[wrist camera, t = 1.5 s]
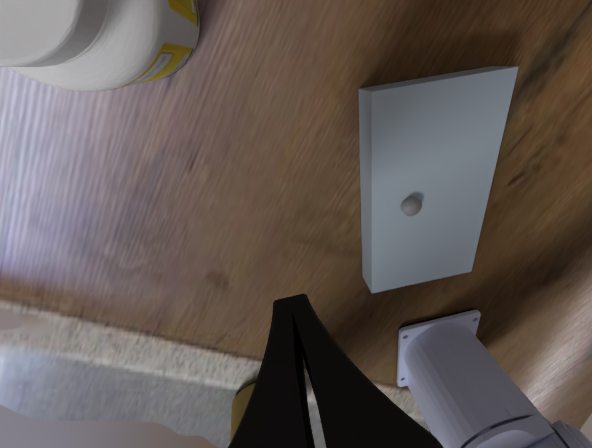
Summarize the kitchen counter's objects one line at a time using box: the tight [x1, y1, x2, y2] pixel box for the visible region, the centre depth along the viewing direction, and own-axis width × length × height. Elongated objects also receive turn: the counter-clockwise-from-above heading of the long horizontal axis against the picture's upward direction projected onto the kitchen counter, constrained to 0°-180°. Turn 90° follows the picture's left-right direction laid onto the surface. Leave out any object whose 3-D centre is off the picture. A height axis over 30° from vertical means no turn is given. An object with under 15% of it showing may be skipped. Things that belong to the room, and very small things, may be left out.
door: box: [359, 66, 518, 293], centre depth 19 cm, size 14×8×3 cm, turn 8°
